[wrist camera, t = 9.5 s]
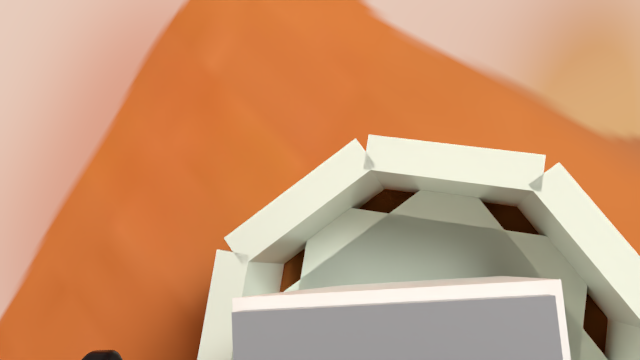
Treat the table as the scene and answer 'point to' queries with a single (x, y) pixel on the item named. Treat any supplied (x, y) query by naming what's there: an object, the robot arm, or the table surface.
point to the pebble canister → (406, 321)
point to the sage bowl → (433, 236)
